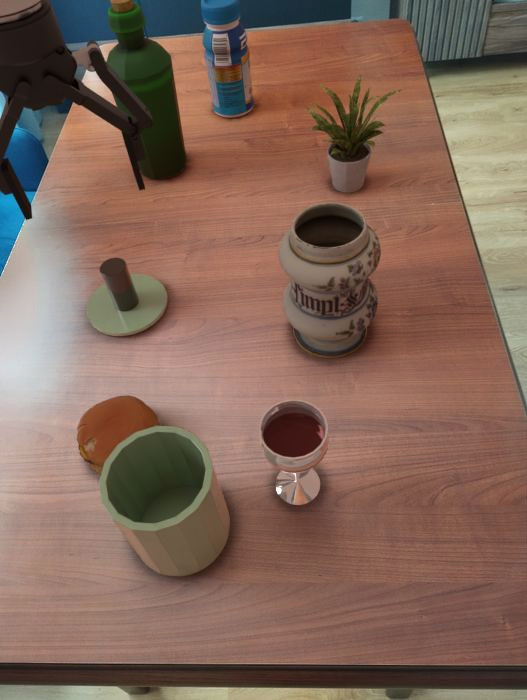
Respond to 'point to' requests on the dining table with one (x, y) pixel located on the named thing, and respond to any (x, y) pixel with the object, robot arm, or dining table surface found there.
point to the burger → (111, 427)
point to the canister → (166, 499)
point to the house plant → (349, 138)
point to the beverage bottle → (227, 58)
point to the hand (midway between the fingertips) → (85, 198)
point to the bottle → (148, 89)
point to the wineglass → (294, 447)
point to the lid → (125, 300)
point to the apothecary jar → (330, 278)
